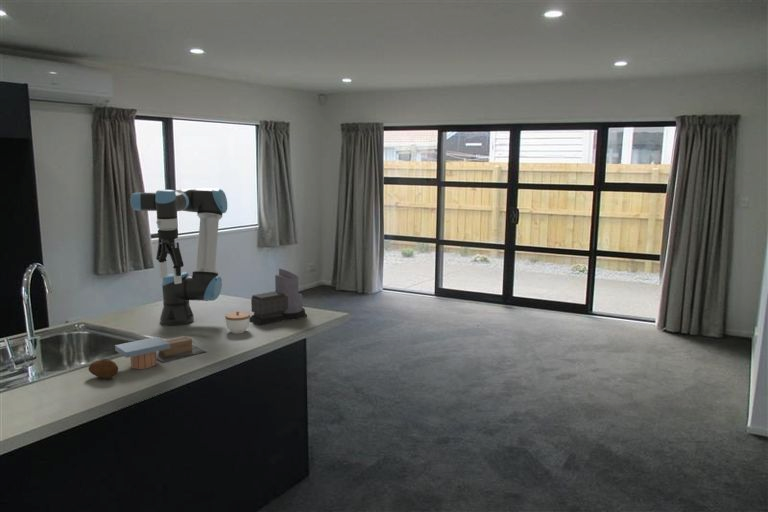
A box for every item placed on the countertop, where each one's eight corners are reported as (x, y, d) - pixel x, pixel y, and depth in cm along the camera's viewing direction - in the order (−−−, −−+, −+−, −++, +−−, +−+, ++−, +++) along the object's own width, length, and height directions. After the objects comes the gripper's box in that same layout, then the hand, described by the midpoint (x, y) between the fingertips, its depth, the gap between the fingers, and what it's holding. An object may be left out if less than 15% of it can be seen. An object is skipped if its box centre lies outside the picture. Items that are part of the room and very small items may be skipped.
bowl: (127, 364, 213) (126, 349, 212) (150, 359, 219) (149, 344, 218) (136, 370, 207) (135, 354, 206) (159, 365, 213) (159, 349, 212)
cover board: (115, 350, 210) (114, 345, 210) (158, 341, 221) (157, 336, 221) (126, 357, 202) (126, 352, 202) (170, 348, 213) (170, 343, 213)
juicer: (294, 309, 297) (294, 263, 293) (313, 315, 285) (313, 267, 282) (244, 320, 275) (242, 270, 272) (262, 326, 264) (261, 275, 261)
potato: (97, 372, 204) (96, 354, 203) (125, 376, 201) (124, 357, 200) (84, 379, 197) (82, 360, 196) (112, 383, 195) (111, 363, 194)
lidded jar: (243, 335, 250) (243, 315, 249) (221, 334, 252) (220, 313, 251) (254, 329, 260) (253, 309, 259) (232, 327, 262) (232, 307, 261)
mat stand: (145, 352, 227) (144, 340, 226) (188, 342, 239) (187, 331, 238) (161, 362, 215) (161, 349, 215) (206, 352, 228) (205, 340, 227)
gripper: (145, 226, 234) (149, 276, 238) (171, 233, 216) (175, 287, 220) (163, 224, 239) (166, 273, 243) (190, 231, 221) (193, 284, 225)
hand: (170, 280), depth 232 cm, fingers open, 13 cm apart
